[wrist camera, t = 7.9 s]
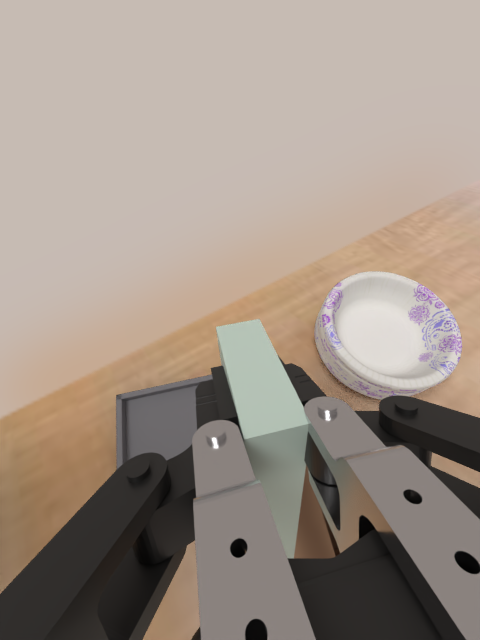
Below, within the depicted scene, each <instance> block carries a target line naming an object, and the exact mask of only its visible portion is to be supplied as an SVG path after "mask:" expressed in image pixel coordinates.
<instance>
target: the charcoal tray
mask: <svg viewBox="0 0 480 640" xmlns="http://www.w3.org/2000/svg"><path fill="white" fill-rule="evenodd" d="M209 380H213V377H212V375H207V376H203V377H198V378H194V379H189V380H184V381H180V382H175V383H170V384H166V385H161V386H156V387H152V388H147V389H142V390H138V391H133V392H129V393H124V394H119V395H116V429H117V469H118V468H119V467H120V466H121V465H122V464H124V463H125V462H126V461H128V460H129V459H131V458H133V457H135V456H137V455H140V454H143V453H150V452H153V453H158V454H161V455H162V456H163V457H164V458H165V459H166V461H167V460H169V459H171V458H173V457H175V456H177V455H179V454H180V453H182V452H184V451H185V450H186V449H187V448H189V447H190V446H191V444H192V438H193V435H194V434H195V432H196V431H197V419H196V395H195V390H196V388H197V386H198V385H199V383H200V382H204V381H209Z"/></svg>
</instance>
